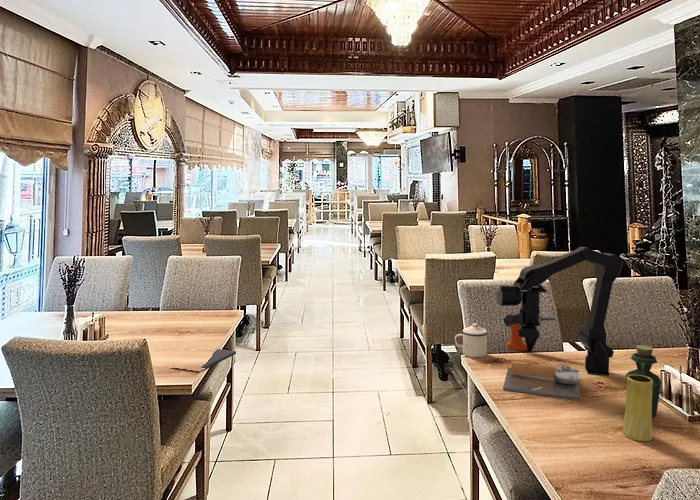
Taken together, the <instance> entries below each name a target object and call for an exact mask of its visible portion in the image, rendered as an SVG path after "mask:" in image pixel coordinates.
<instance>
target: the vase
mask: <svg viewBox="0 0 700 500" xmlns="http://www.w3.org/2000/svg"><path fill="white" fill-rule="evenodd" d="M652 385H653V380H652V379H651V378H649V377H647V376H643V375H635V374H633V375H628V376H627V384H626V383H625V393H626V394H625V395H626V397H625V408H624V409H625V410H624V417H623V428H622V434H623V435H624V436H625V437H626V438H628V439H631V440H634V441H639V442H650V441H652V440H653V429H652V428H653V418H652Z"/></svg>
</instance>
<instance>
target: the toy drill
mask: <svg viewBox="0 0 700 500" xmlns="http://www.w3.org/2000/svg"><path fill="white" fill-rule="evenodd" d="M514 312H516V311H515V310H513V311H510V313H514ZM510 313H509V314H510ZM540 319H541V321H544V322H545V321H555V320H556V318H555V317H542V316H540ZM521 326H522V325H519V323H517V324H514V325H510V326H509V328H510V340H509V341H508V342H507V343H506V348H507V349H510V350H514V351H518V352H519V351H520V352H526V351H528V350H527V345H526V343H523V337H519V336H518V331H519V328H520V327H521ZM523 326H524V325H523Z"/></svg>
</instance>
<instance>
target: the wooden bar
mask: <svg viewBox="0 0 700 500" xmlns="http://www.w3.org/2000/svg"><path fill="white" fill-rule="evenodd" d="M510 368H511V373H513V374H522V375H530V376H538V377H546V378H553V379H554V380H555V381H557V382H559V383H563V384H576V383H578V384H579V370H578V369H577V368H574V367H571V366H570V365H559V366H555V365H548V364H540V363H539V364H538V363H532V362H530V363H529V362H523V361H522V362H521V361H511V366H510Z"/></svg>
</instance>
